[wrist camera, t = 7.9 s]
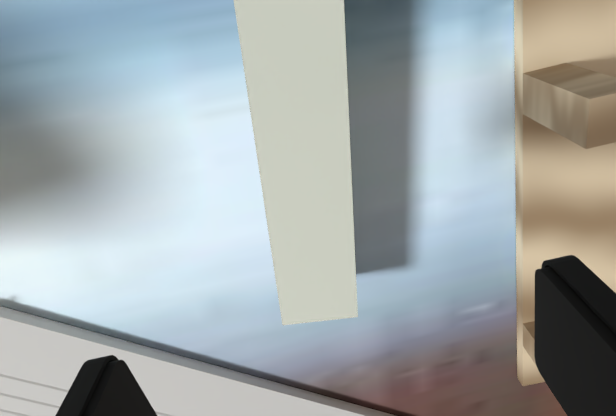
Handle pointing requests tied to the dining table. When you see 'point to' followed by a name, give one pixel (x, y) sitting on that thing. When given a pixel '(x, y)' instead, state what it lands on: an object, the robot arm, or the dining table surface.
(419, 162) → the dining table surface
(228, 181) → the dining table surface
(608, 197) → the beech rack
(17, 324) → the baseboard molding
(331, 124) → the clay strip
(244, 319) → the dining table surface
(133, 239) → the dining table surface
